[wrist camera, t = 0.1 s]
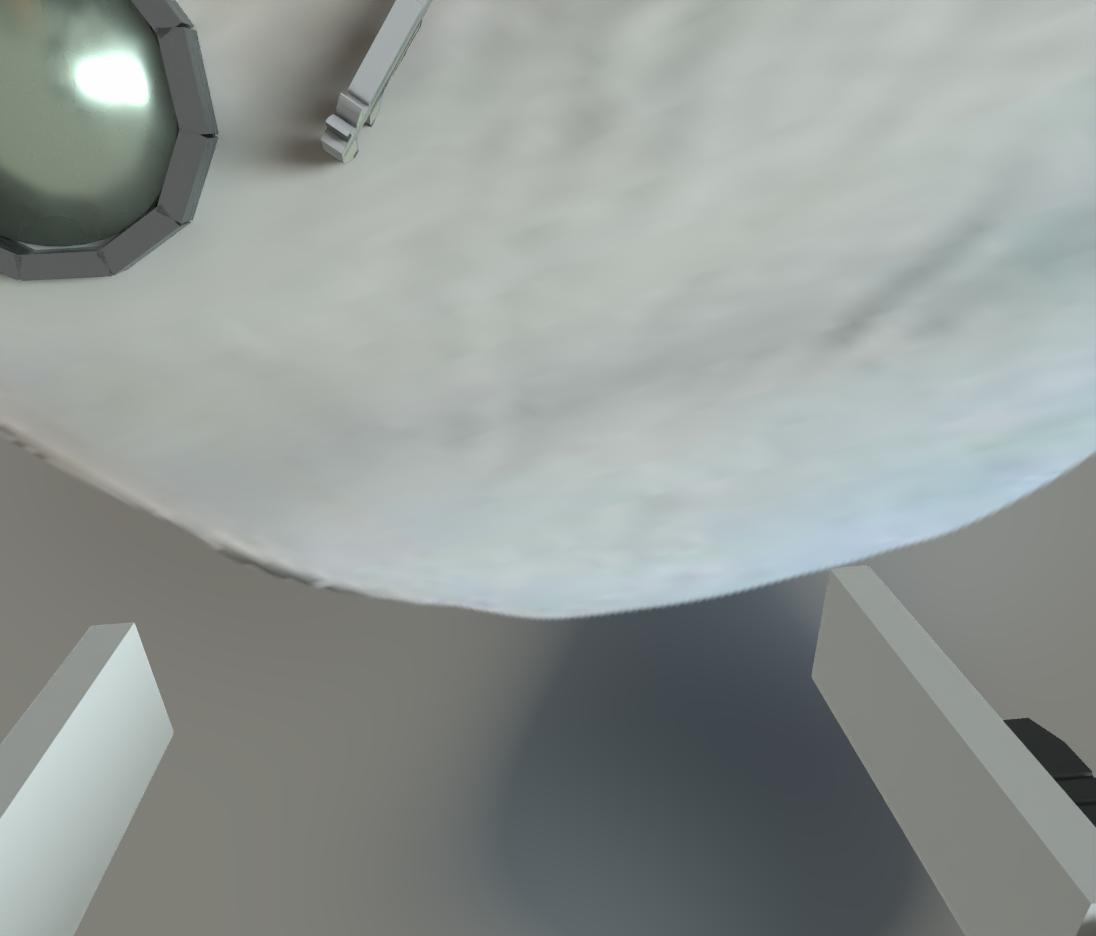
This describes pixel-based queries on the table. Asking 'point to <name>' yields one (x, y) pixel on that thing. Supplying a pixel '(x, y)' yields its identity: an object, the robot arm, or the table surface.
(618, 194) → the table surface
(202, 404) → the table surface
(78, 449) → the table surface
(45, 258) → the steel bowl
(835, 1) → the table surface
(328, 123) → the caliper
